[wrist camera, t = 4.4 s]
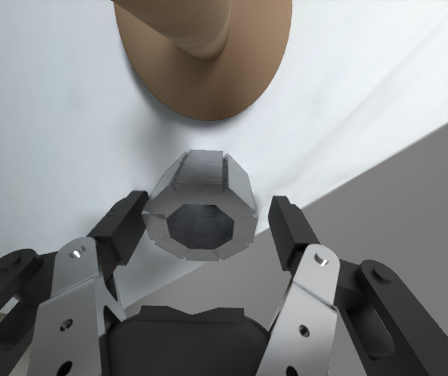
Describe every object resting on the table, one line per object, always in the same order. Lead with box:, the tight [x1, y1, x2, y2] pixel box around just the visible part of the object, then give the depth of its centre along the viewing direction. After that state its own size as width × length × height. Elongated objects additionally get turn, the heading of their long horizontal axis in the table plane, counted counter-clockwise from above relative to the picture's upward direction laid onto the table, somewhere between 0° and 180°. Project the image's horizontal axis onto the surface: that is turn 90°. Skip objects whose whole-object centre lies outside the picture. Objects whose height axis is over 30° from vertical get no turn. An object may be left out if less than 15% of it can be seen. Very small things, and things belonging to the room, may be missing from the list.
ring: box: [141, 150, 258, 261], centre depth 11 cm, size 6×6×4 cm
